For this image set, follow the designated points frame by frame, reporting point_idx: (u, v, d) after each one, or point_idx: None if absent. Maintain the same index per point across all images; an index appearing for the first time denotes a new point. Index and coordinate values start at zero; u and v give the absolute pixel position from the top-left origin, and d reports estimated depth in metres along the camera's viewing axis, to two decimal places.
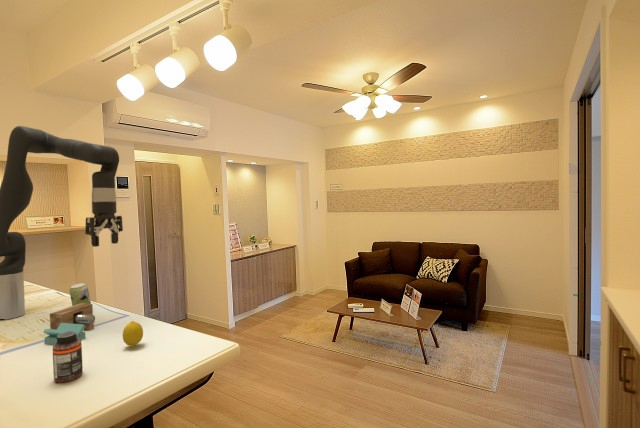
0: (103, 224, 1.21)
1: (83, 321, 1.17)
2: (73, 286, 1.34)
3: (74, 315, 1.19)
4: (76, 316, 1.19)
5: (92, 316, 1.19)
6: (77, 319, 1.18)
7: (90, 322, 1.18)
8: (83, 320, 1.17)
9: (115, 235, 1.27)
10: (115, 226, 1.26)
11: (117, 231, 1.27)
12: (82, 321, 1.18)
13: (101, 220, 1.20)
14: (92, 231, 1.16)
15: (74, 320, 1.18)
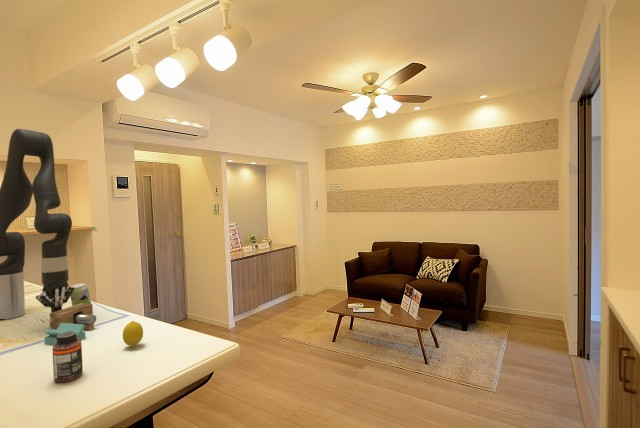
0: (56, 294, 1.19)
1: (84, 321, 1.17)
2: (73, 286, 1.34)
3: (75, 315, 1.19)
4: (77, 316, 1.18)
5: (93, 316, 1.19)
6: (78, 319, 1.18)
7: (91, 322, 1.18)
8: (84, 320, 1.17)
9: None
10: (62, 296, 1.22)
11: (60, 304, 1.21)
12: (83, 321, 1.17)
13: (51, 293, 1.18)
14: (51, 304, 1.18)
15: (75, 320, 1.18)
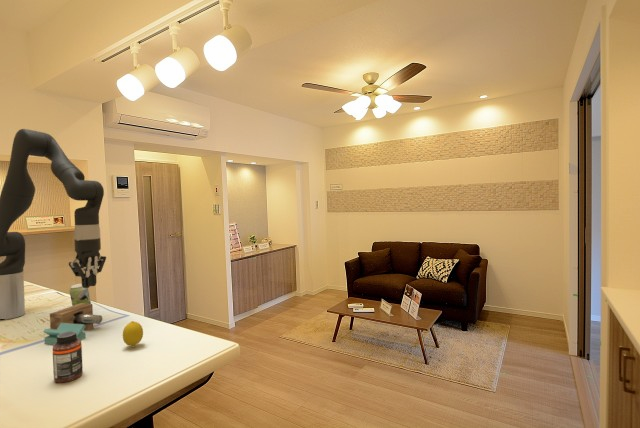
0: (88, 263, 1.16)
1: (90, 320, 1.17)
2: (73, 286, 1.34)
3: (82, 314, 1.19)
4: (84, 315, 1.19)
5: (100, 316, 1.19)
6: (85, 318, 1.18)
7: (97, 322, 1.18)
8: (91, 319, 1.17)
9: (93, 277, 1.19)
10: (96, 266, 1.19)
11: (95, 273, 1.19)
12: (89, 320, 1.17)
13: (84, 261, 1.15)
14: (82, 273, 1.14)
15: (81, 319, 1.18)
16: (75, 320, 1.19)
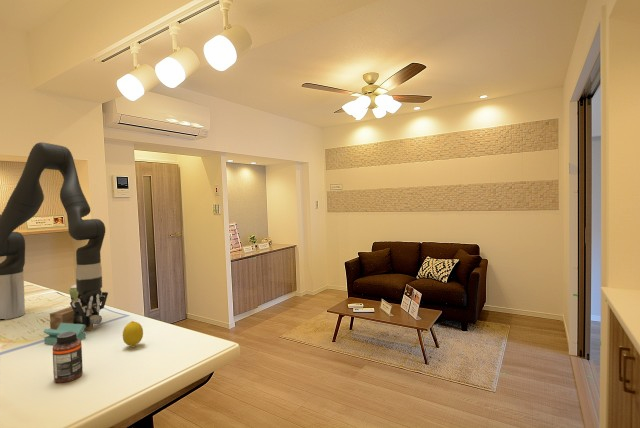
0: (90, 302, 1.17)
1: (90, 321, 1.17)
2: (73, 286, 1.34)
3: None
4: None
5: (99, 316, 1.19)
6: None
7: (97, 322, 1.18)
8: (90, 320, 1.17)
9: (95, 314, 1.20)
10: (98, 303, 1.20)
11: (98, 310, 1.20)
12: None
13: (86, 300, 1.16)
14: (82, 313, 1.14)
15: (81, 320, 1.18)
16: (75, 321, 1.18)
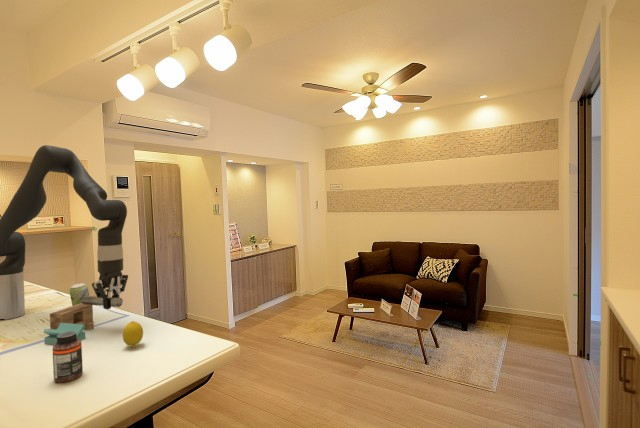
0: (111, 284, 1.15)
1: (111, 303, 1.15)
2: (73, 286, 1.34)
3: None
4: None
5: (120, 299, 1.17)
6: None
7: (118, 305, 1.16)
8: (111, 302, 1.15)
9: (116, 297, 1.18)
10: (119, 286, 1.18)
11: (118, 292, 1.18)
12: None
13: (107, 281, 1.14)
14: (104, 294, 1.12)
15: (102, 302, 1.16)
16: (95, 303, 1.16)
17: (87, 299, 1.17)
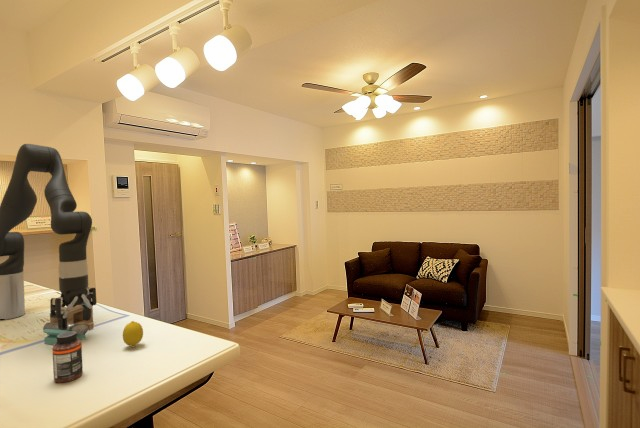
0: (72, 302, 1.05)
1: None
2: None
3: None
4: (67, 326, 1.07)
5: (85, 326, 1.08)
6: (68, 329, 1.07)
7: (82, 333, 1.07)
8: (75, 331, 1.06)
9: (87, 311, 1.11)
10: (87, 301, 1.10)
11: (89, 306, 1.12)
12: None
13: (69, 298, 1.05)
14: (58, 314, 1.01)
15: None
16: None
17: (49, 326, 1.08)
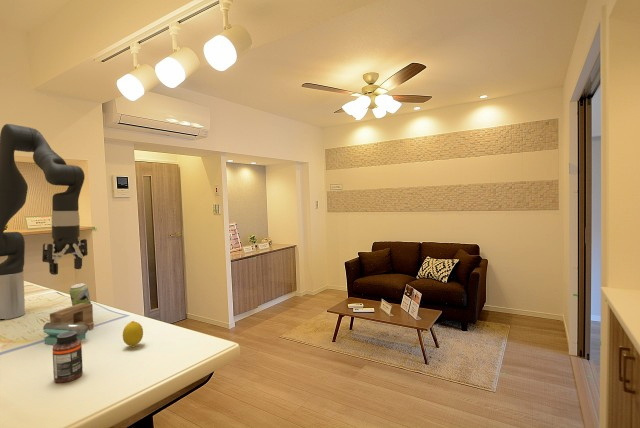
0: (63, 250, 1.12)
1: None
2: (73, 286, 1.34)
3: (65, 325, 1.08)
4: (67, 326, 1.07)
5: (85, 326, 1.08)
6: (68, 329, 1.07)
7: (82, 333, 1.07)
8: (75, 331, 1.06)
9: (78, 260, 1.18)
10: (78, 251, 1.17)
11: (81, 256, 1.18)
12: None
13: (61, 246, 1.11)
14: (49, 259, 1.08)
15: None
16: None
17: (49, 326, 1.08)
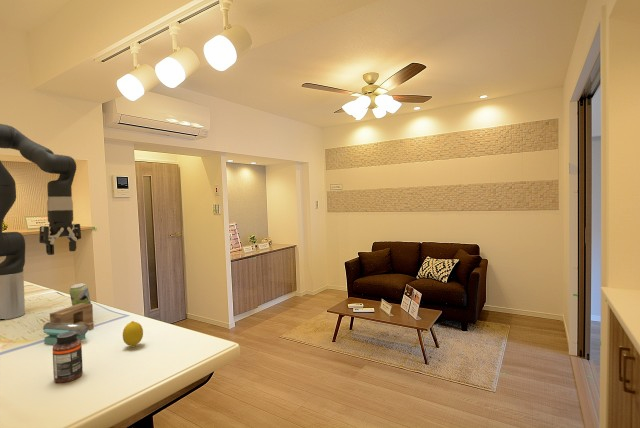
0: (59, 232, 1.22)
1: None
2: (73, 286, 1.34)
3: (65, 325, 1.08)
4: (67, 326, 1.07)
5: (85, 326, 1.08)
6: (68, 329, 1.07)
7: (82, 333, 1.07)
8: (75, 331, 1.06)
9: (73, 243, 1.28)
10: (72, 234, 1.27)
11: (75, 239, 1.29)
12: None
13: (56, 229, 1.22)
14: (46, 240, 1.18)
15: None
16: None
17: (49, 326, 1.08)
